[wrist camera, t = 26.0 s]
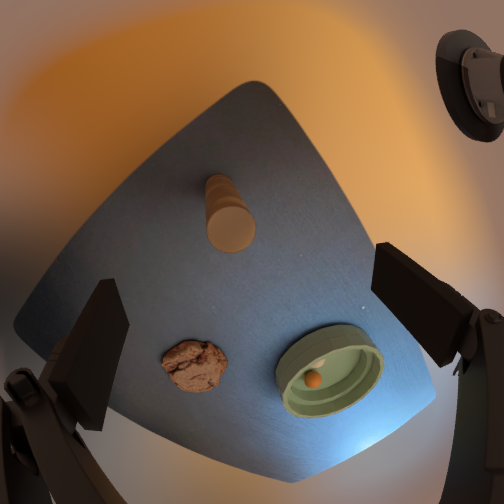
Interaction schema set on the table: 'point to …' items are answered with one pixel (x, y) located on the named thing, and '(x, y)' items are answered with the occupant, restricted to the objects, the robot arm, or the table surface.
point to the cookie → (195, 365)
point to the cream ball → (318, 364)
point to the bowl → (329, 371)
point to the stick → (227, 216)
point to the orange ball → (312, 379)
